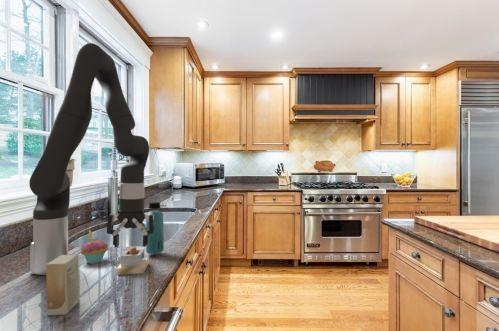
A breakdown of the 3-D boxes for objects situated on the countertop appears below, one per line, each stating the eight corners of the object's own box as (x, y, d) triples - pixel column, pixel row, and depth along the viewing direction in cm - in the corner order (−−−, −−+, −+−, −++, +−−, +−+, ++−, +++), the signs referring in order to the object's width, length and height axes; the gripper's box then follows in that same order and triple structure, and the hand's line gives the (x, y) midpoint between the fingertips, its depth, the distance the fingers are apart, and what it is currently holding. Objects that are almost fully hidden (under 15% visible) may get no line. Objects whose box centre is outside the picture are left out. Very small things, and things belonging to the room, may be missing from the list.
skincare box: (61, 302, 71) (61, 254, 71) (79, 301, 71) (79, 253, 71) (45, 316, 65) (45, 263, 64) (65, 315, 65) (65, 263, 65)
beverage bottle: (158, 258, 102) (158, 203, 102) (141, 257, 104) (141, 203, 103) (167, 252, 109) (167, 201, 108) (151, 251, 110) (151, 200, 110)
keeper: (116, 274, 88) (116, 252, 88) (123, 265, 96) (123, 244, 96) (143, 273, 89) (143, 251, 89) (147, 263, 97) (147, 243, 97)
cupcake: (93, 267, 94) (92, 231, 94) (74, 263, 97) (74, 229, 97) (113, 258, 102) (113, 225, 102) (96, 255, 105) (95, 223, 105)
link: (120, 267, 89) (120, 256, 89) (125, 260, 95) (125, 250, 95) (140, 265, 90) (140, 255, 90) (144, 259, 96) (144, 249, 96)
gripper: (104, 197, 87) (103, 250, 87) (152, 198, 89) (151, 249, 89) (112, 195, 94) (111, 243, 94) (156, 195, 96) (155, 242, 96)
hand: (130, 246), depth 92 cm, fingers open, 8 cm apart
